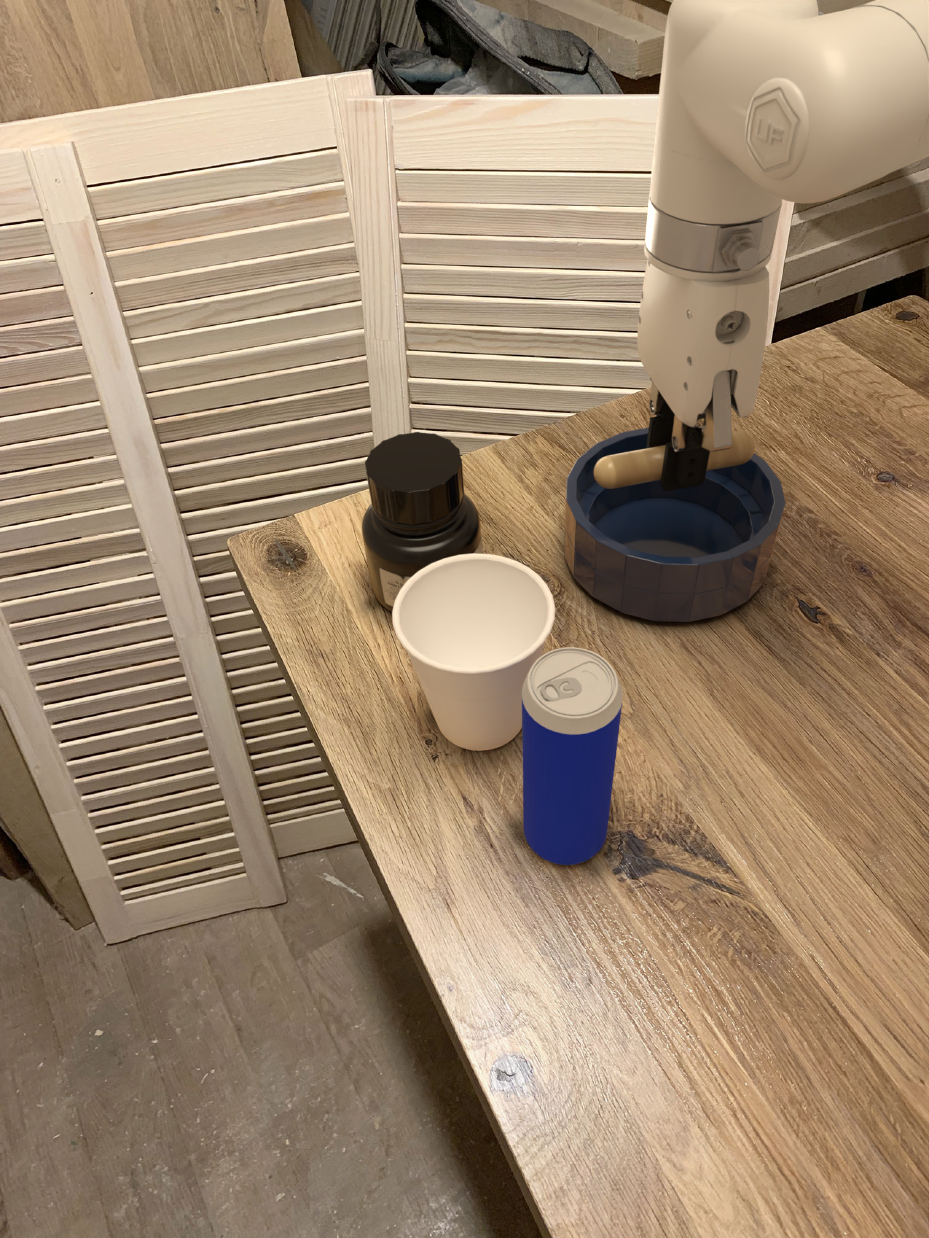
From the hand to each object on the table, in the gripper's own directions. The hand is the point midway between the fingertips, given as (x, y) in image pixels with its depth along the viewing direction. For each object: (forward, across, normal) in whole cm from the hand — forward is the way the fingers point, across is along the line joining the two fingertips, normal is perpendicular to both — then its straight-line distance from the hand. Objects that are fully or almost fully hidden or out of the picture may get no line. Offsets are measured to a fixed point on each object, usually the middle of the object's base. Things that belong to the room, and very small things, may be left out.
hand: (674, 471), depth 68 cm
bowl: (+8, 0, 0) cm, 8 cm away
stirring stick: (0, 0, 0) cm, 0 cm away
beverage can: (+8, -22, +15) cm, 28 cm away
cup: (+8, -12, +18) cm, 23 cm away
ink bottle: (+8, +2, +19) cm, 21 cm away
